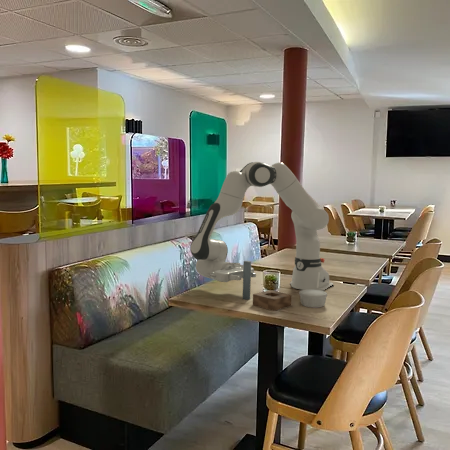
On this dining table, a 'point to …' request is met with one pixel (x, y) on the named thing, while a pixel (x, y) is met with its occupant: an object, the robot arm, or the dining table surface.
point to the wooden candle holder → (272, 300)
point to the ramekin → (313, 298)
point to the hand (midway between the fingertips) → (247, 276)
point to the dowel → (246, 280)
